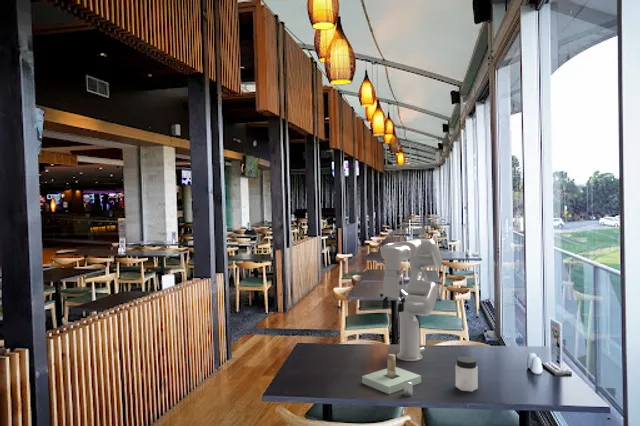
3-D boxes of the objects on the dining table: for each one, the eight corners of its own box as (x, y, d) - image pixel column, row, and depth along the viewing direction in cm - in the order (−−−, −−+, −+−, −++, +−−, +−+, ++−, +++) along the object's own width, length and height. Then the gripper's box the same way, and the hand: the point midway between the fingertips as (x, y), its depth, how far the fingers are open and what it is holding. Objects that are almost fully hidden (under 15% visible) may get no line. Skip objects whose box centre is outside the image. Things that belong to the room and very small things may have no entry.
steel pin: (407, 391, 199) (407, 379, 198) (414, 394, 196) (414, 382, 196) (402, 394, 196) (402, 381, 196) (408, 396, 194) (408, 384, 194)
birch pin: (391, 380, 211) (391, 353, 211) (397, 383, 209) (397, 355, 208) (385, 382, 209) (385, 355, 209) (391, 384, 206) (391, 357, 206)
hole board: (393, 372, 221) (393, 366, 221) (421, 382, 209) (421, 375, 209) (362, 383, 209) (362, 376, 209) (389, 394, 196) (388, 386, 196)
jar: (455, 390, 200) (455, 361, 200) (455, 383, 207) (455, 355, 207) (478, 392, 197) (477, 363, 197) (477, 385, 205) (477, 357, 205)
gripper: (412, 274, 219) (412, 312, 219) (385, 270, 232) (385, 305, 233) (401, 276, 214) (401, 314, 214) (373, 272, 228) (374, 308, 228)
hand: (393, 310), depth 224 cm, fingers open, 9 cm apart
